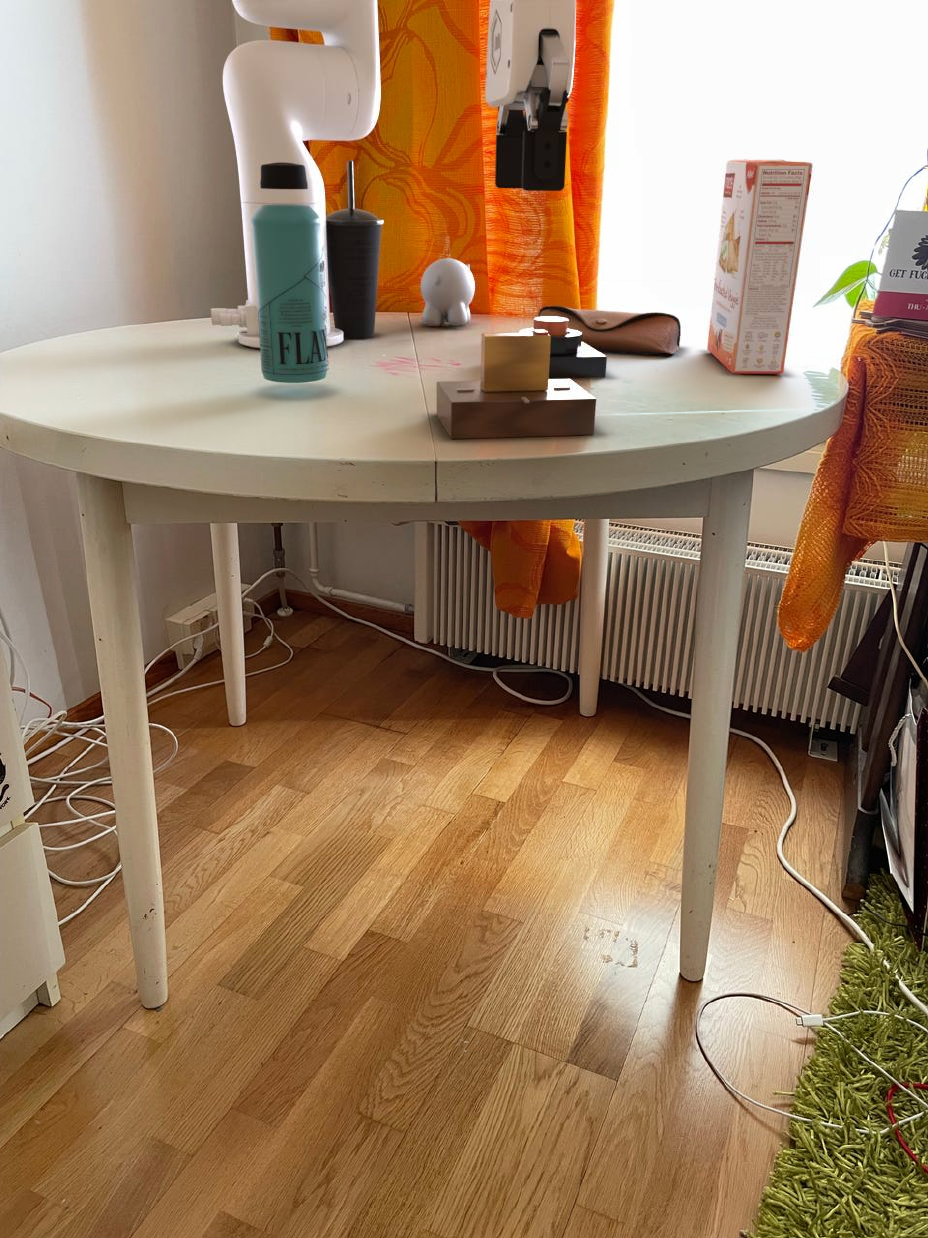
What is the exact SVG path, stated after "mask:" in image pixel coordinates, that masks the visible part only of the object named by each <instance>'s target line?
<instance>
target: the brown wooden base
mask: <svg viewBox="0 0 928 1238" xmlns="http://www.w3.org/2000/svg"><path fill="white" fill-rule="evenodd" d="M480 386H481V380H456V381H455V380H453V381H449V380H447V381H437V382H436V417H437V418H438V421H439V422H440V423H441V425H442V427H443V428H444V430H445V432H446V433H447V436H449V438H450V439H451V440H467V439H468V440H469V439H494V438H495V439H498V438H501V439H502V438H526V437H527V438H533V437H563V436H566V437H568V436H569V437H570V436H594V435H595V426H596V425H595V423H596V410H597V398H596V397H594V395H592V394H590V393H589V392H588V391H586V390H585V389H584V388H583V387H581V386H580V385H579V384H577V382H575V381H573V379H572V378H552V379H549V381H548V390H543V391H499V392H484V391H483V390H482V389H481V387H480Z"/></svg>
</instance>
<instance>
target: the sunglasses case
mask: <svg viewBox="0 0 928 1238" xmlns="http://www.w3.org/2000/svg"><path fill="white" fill-rule="evenodd" d="M537 317H562V318H566V319H568V329H571V330H577V331H579V332H581V333H582V342H584V343H585V344H587V345H589V346H590V347H592V348H594V349H595V350H597V351H598V352H600V353H607V354H617V355H653V354H654V355H655V354H667V355H668V354H670V355H675V354H676V353H677V351H678V350H680V342H681V336H682V335H681V334H682V333H681V321H680V319H679V318H678V317H677V316H675V315H673V314H670V313H665V312H657V311H655V312H644V313H643V312H642V313H640V312H628V311H615V310H613V311H612V310H602V309H600V310H598V309H580V308H572V307H571V308H570V307H567V306H562V305H546V306H543V307H541V308H540V309H539V312H538V314H537Z"/></svg>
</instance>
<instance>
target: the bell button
mask: <svg viewBox="0 0 928 1238" xmlns="http://www.w3.org/2000/svg"><path fill="white" fill-rule="evenodd" d="M533 328H534V330H546V331H547V332H548V334H549V335H550V336H554V335H567V332H568V319H566V318H562V317H538V316H537V317H534V319H533Z"/></svg>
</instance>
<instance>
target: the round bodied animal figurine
mask: <svg viewBox="0 0 928 1238" xmlns="http://www.w3.org/2000/svg"><path fill="white" fill-rule="evenodd" d="M470 266H471V265H470V264H469V263H467V264H465V263H464V262H462V261H460V260H458V259H455V258H450V257H448V258H447V257H446V258H441V259H437V260H436V261H434V262H432V263H431V264H430V265H428V267H427V268H426V269H425V270H424V273H423V274H422V276H421V280H420V291H421V292H420V293H421V298H422V299H423V301H424V303H425V306H424V308H423V311H422V314H421V323H422V324H423V325H425V326H428V327H439V326H441V325H443V324H446V323H448V325H450V326H452V327H453V326H455V327H459V326H463V325H466V324H469V323H470V322H471V312H470V311H471V310H470V307H469V305H470V304H471V302H472V301H473V298H474V295H475V290H476V284H475V279H474V276H473V273H472V271H471V270H470Z"/></svg>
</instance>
